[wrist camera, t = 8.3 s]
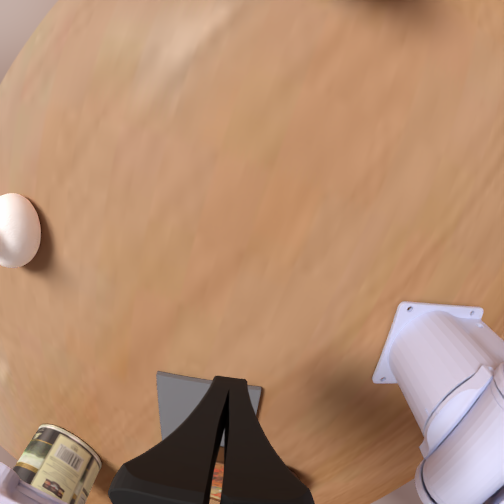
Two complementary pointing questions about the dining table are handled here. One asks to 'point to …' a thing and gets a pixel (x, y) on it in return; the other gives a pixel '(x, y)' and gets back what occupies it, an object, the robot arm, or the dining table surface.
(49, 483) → the coffee can
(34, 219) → the garlic bulb
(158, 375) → the mat
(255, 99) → the dining table surface
